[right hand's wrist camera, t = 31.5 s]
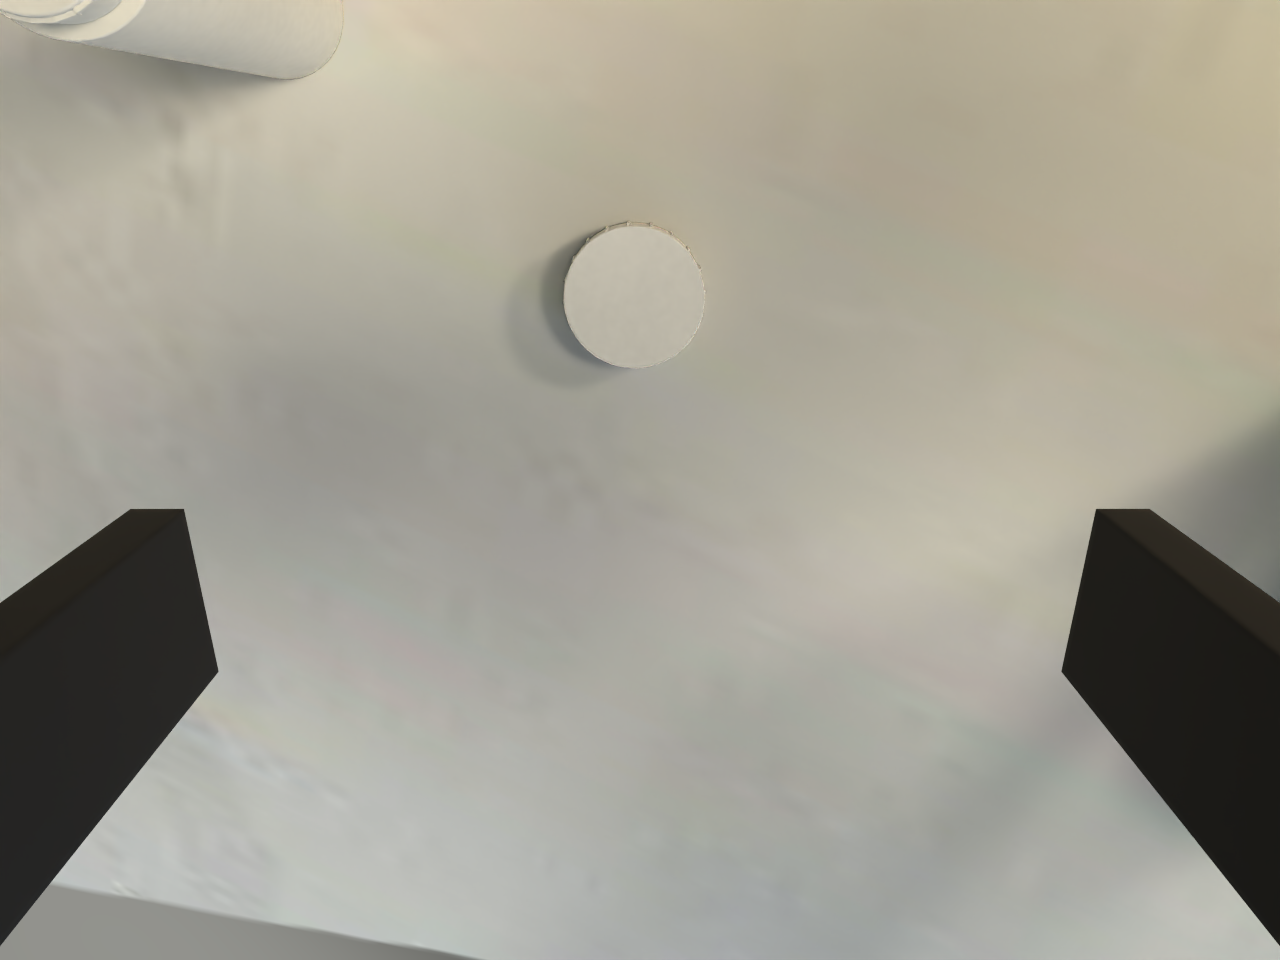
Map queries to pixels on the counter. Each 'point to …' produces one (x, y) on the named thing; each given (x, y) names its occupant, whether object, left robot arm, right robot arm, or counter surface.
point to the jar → (196, 30)
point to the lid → (634, 295)
